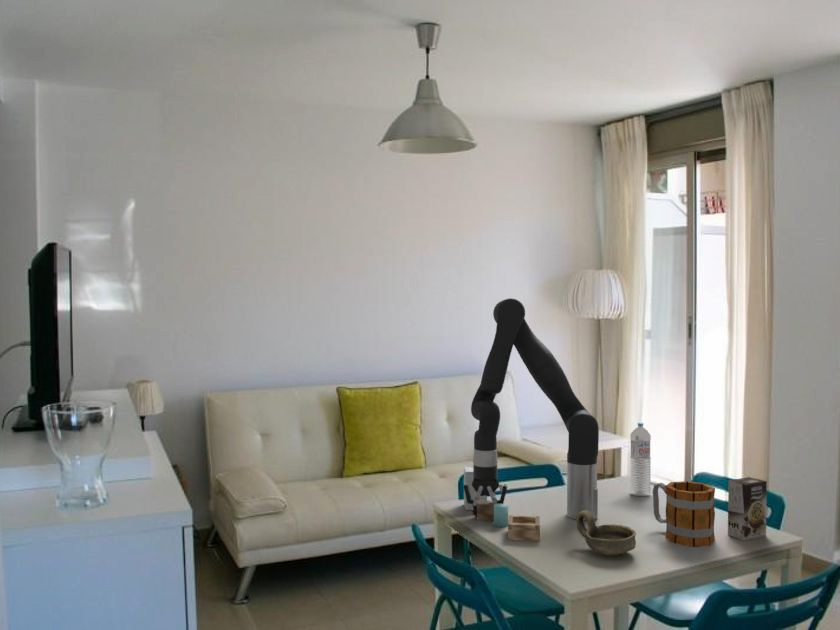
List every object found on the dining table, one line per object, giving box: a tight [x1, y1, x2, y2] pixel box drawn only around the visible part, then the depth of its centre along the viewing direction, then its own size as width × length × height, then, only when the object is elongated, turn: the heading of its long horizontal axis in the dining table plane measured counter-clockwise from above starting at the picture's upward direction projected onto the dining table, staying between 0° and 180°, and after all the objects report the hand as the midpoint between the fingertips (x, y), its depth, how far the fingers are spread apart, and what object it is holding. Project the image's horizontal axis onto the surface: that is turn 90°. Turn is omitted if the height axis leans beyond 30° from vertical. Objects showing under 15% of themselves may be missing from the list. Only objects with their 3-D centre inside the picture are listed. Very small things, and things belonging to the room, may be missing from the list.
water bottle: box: [629, 422, 652, 497], centre depth 263 cm, size 7×7×25 cm
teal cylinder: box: [493, 503, 509, 528], centre depth 229 cm, size 4×4×6 cm
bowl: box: [575, 510, 637, 556], centre depth 205 cm, size 14×18×10 cm
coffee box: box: [727, 476, 768, 541], centre depth 218 cm, size 9×6×16 cm
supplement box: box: [463, 466, 488, 511], centre depth 248 cm, size 7×7×13 cm
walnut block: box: [476, 499, 494, 522], centre depth 236 cm, size 5×5×5 cm
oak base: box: [507, 514, 541, 542], centre depth 219 cm, size 9×9×4 cm
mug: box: [652, 480, 716, 548], centre depth 218 cm, size 20×14×15 cm
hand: (485, 516), depth 236 cm, fingers closed on walnut block, 5 cm apart
